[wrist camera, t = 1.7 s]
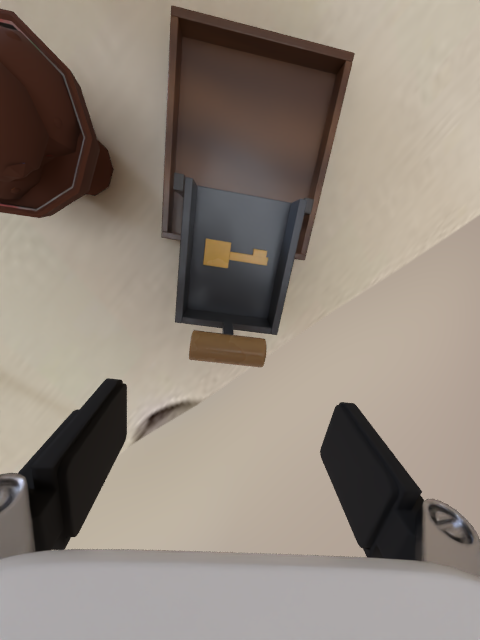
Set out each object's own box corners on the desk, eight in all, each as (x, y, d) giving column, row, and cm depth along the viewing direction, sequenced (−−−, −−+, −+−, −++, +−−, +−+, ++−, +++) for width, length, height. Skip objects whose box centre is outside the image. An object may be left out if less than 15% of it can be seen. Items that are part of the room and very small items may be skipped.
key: (203, 264, 21) (203, 264, 21) (206, 238, 20) (205, 238, 20) (264, 273, 21) (265, 274, 21) (269, 248, 21) (270, 249, 20)
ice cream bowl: (117, 84, 21) (-93, -207, 7) (153, 215, 25) (60, 189, 11) (3, 105, 22) (-419, -142, 7) (56, 232, 25) (-156, 229, 11)
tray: (177, 31, 20) (156, -58, 14) (341, 72, 22) (386, 8, 16) (167, 237, 26) (148, 237, 20) (298, 258, 28) (318, 264, 21)
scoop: (191, 185, 19) (165, 150, 11) (296, 204, 20) (341, 184, 12) (180, 318, 23) (156, 361, 15) (269, 329, 24) (290, 376, 16)
